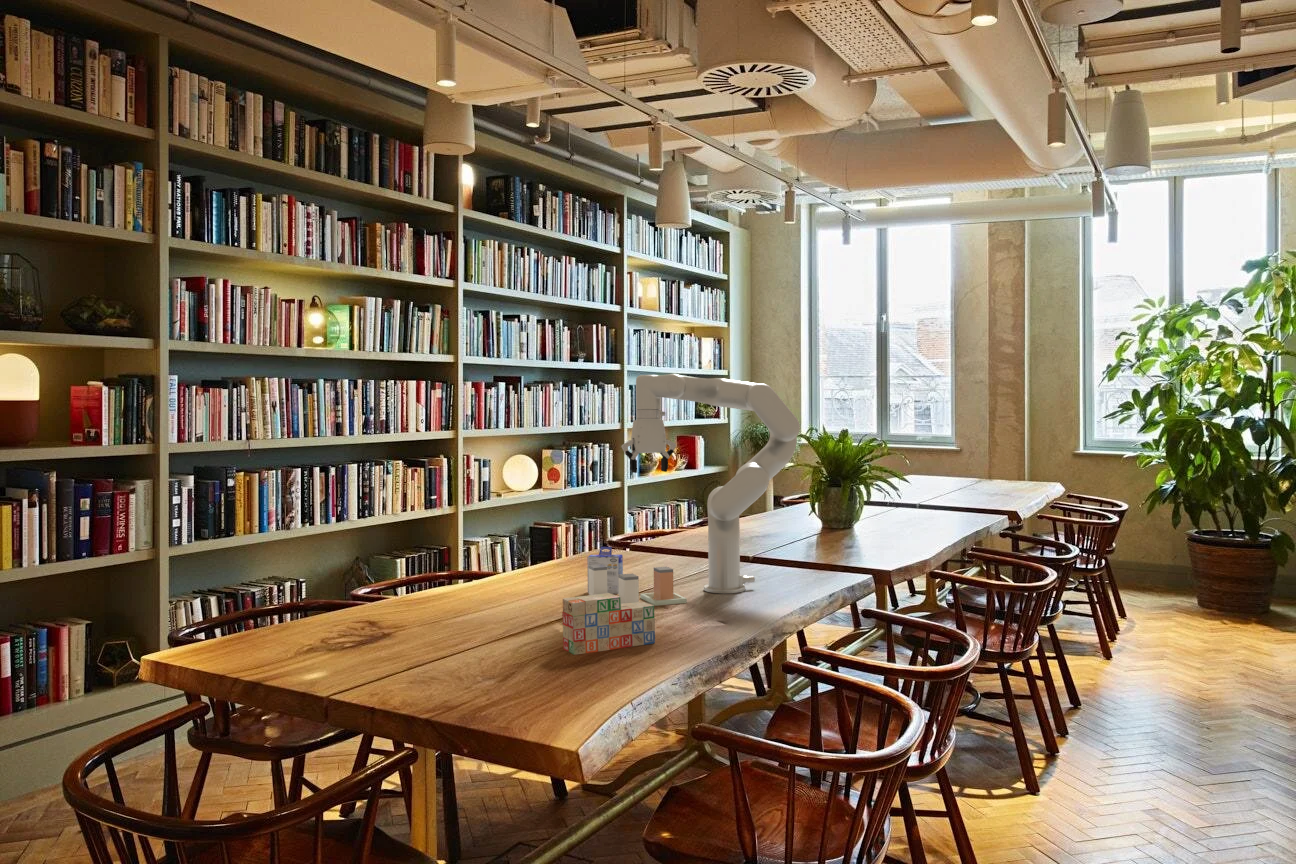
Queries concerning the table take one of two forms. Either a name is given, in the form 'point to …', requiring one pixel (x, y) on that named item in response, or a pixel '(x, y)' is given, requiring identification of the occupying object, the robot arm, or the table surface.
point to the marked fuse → (663, 583)
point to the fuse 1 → (597, 579)
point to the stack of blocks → (605, 623)
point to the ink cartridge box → (608, 568)
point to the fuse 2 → (628, 588)
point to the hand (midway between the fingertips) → (649, 471)
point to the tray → (650, 596)
